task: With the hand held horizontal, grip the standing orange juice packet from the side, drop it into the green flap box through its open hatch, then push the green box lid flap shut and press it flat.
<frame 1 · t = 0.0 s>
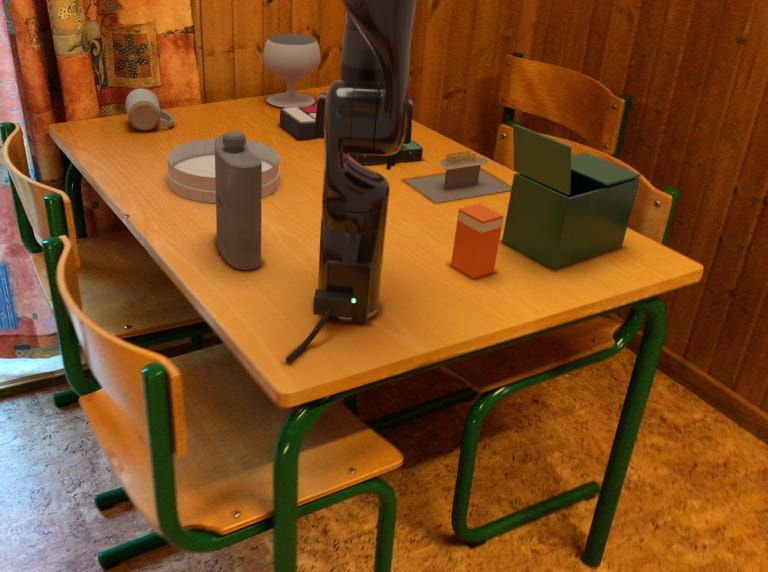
hand: (360, 165, 128), 17 cm above the table, tool pointing down, fingers open, 8 cm apart
chalice: (290, 102, 210), on the table
disk drive: (380, 155, 181), on the table
dish: (223, 182, 167), on the table
green box lid flap: (541, 159, 132), point 17 cm above the table, hinge at 105.0°
dark box with panels: (318, 129, 194), on the table
ceramic mug: (150, 127, 193), on the table
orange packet: (472, 268, 138), on the table
platform: (458, 186, 168), on the table
green flap box: (561, 244, 146), on the table
flask: (236, 251, 141), on the table
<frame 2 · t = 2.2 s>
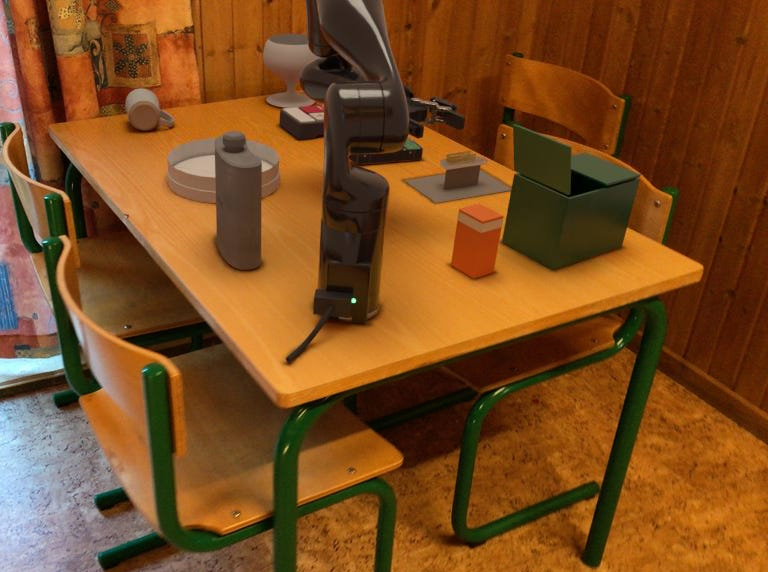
hand: (442, 127, 134), 20 cm above the table, tool horizontal, fingers open, 8 cm apart
nothing on the table moved.
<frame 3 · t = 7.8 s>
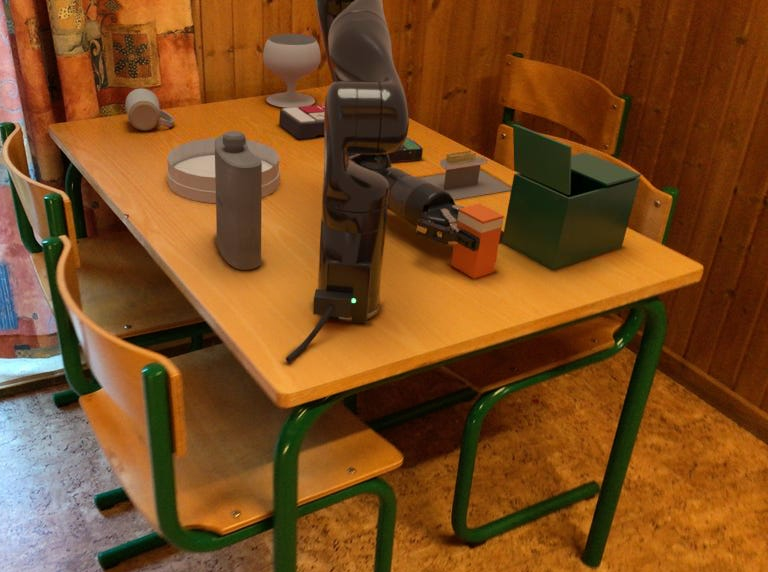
hand: (489, 241, 133), 6 cm above the table, tool horizontal, fingers closed on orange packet, 4 cm apart
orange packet: (472, 268, 138), on the table, touching gripper
everything else where it was.
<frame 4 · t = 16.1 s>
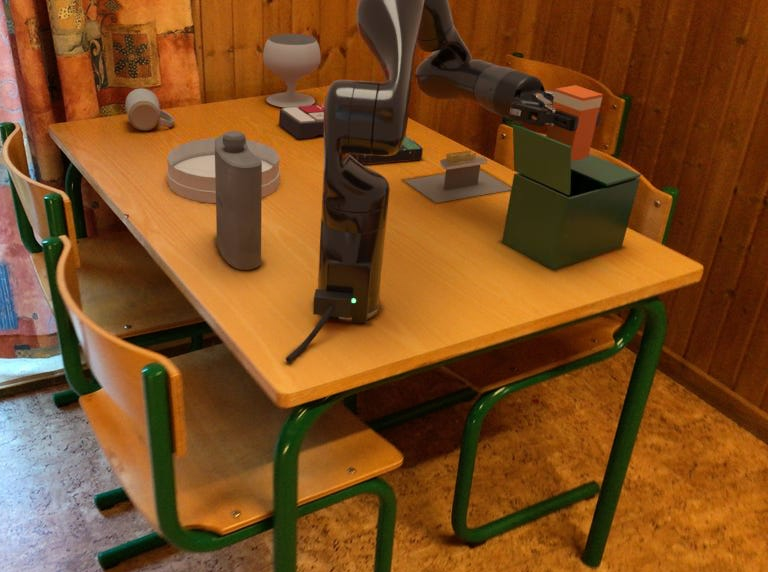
hand: (587, 122, 130), 23 cm above the table, tool horizontal, fingers closed on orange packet, 4 cm apart
green box lid flap: (541, 159, 132), point 17 cm above the table, hinge at 105.3°
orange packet: (565, 154, 135), point 17 cm above the table, touching gripper
everything else where it was.
when the fingers open (24 cm above the table, at t = 30.5 s): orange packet drops 18 cm, resting on green flap box.
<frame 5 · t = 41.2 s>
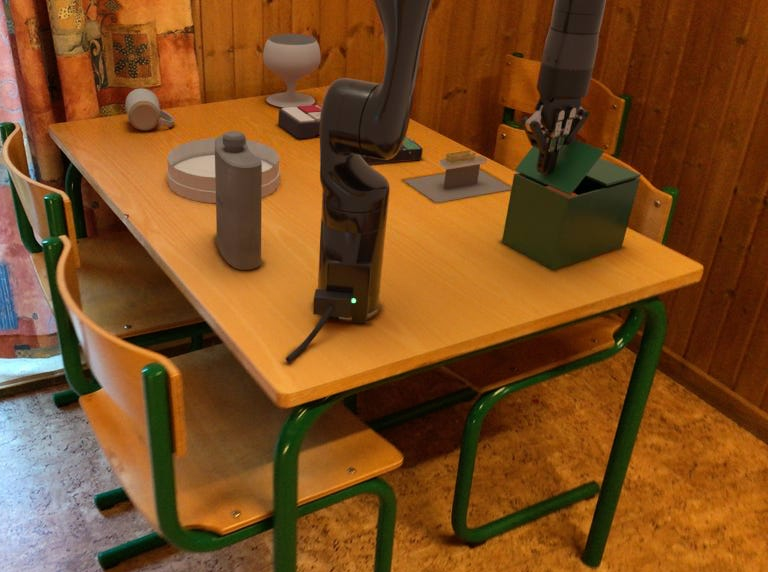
hand: (544, 172, 134), 15 cm above the table, tool pointing down, fingers closed
green box lid flap: (558, 161, 135), point 16 cm above the table, hinge at 45.8°, touching gripper
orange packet: (545, 247, 144), resting on green flap box
everything else where it was.
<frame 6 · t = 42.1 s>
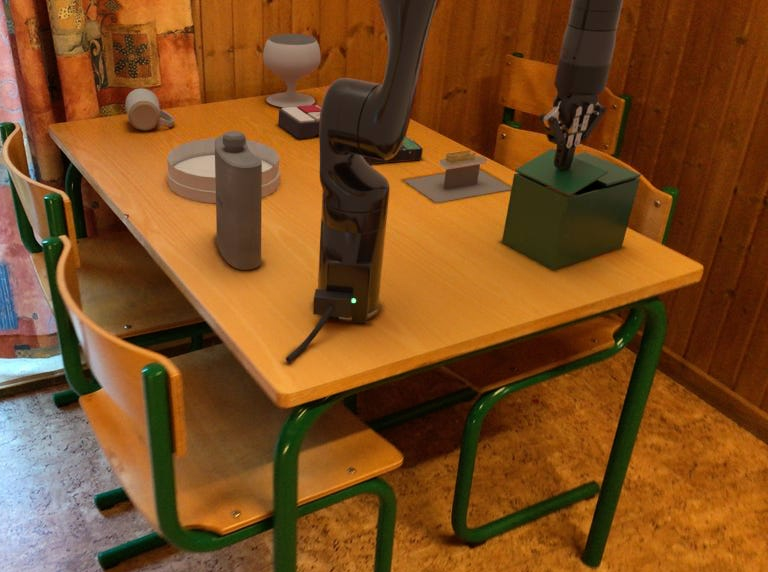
hand: (562, 167, 136), 15 cm above the table, tool pointing down, fingers closed
green box lid flap: (560, 171, 136), point 14 cm above the table, hinge at 15.4°, touching gripper
everything else where it was.
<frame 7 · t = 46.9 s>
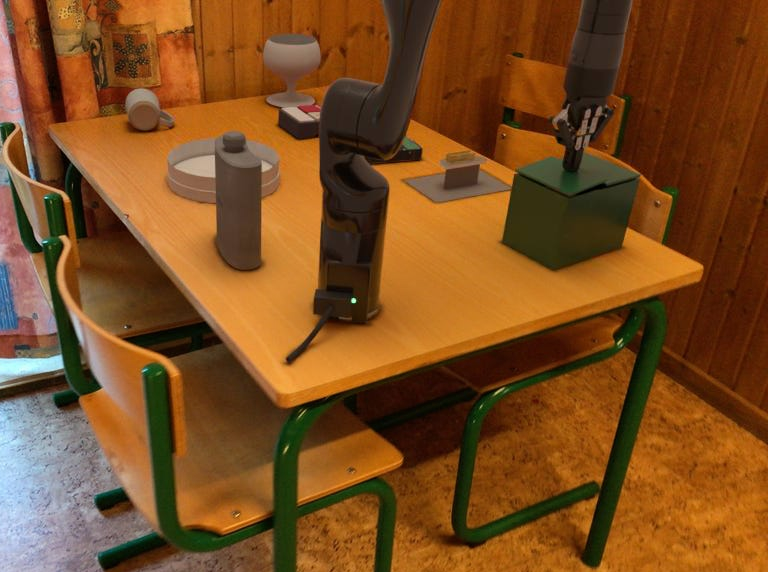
hand: (570, 169, 137), 14 cm above the table, tool pointing down, fingers closed
green box lid flap: (560, 175, 137), point 13 cm above the table, hinge at 5.8°, touching gripper
everything else where it was.
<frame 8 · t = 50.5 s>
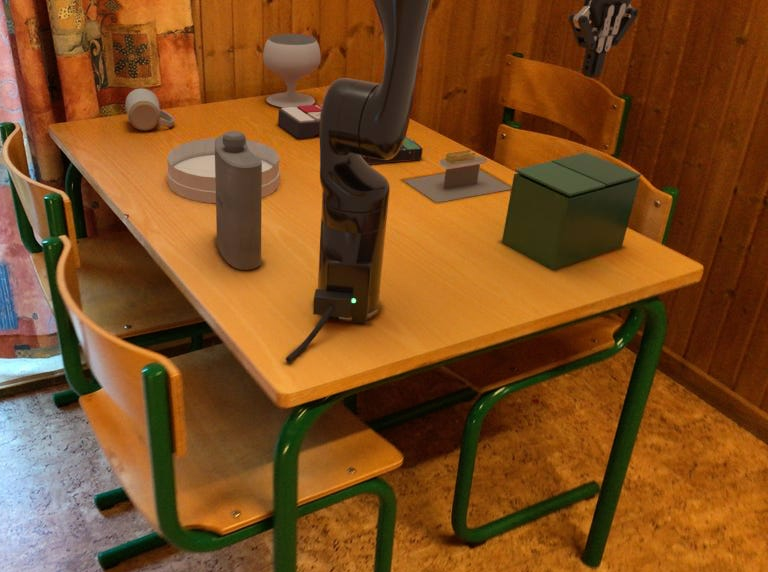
hand: (591, 76, 129), 29 cm above the table, tool pointing down, fingers closed
green box lid flap: (559, 178, 137), point 13 cm above the table, hinge at -0.7°
everything else where it was.
at the end: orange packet inside the target area in the green flap box (4.0 cm from its centre), point 0.4 cm above the green flap box's base; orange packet touching green flap box; green box lid flap at -1° (first picture: +105°) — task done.
